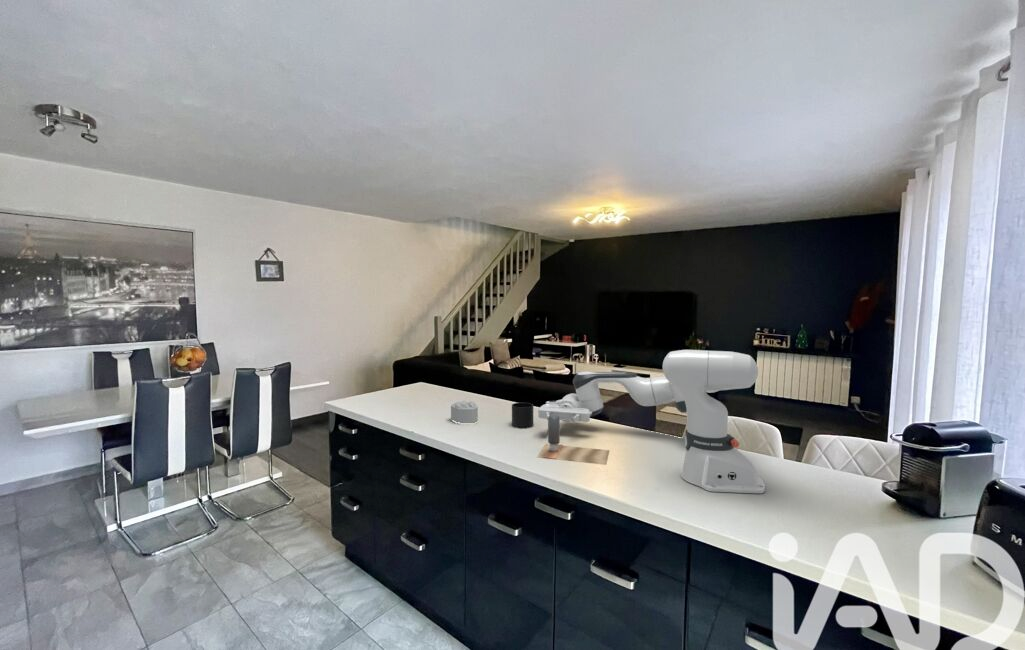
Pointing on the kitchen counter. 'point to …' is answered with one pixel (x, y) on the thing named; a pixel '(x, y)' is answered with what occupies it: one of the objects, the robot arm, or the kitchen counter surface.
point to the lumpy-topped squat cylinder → (464, 412)
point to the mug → (522, 415)
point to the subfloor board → (575, 454)
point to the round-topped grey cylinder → (553, 432)
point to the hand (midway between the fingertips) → (560, 419)
